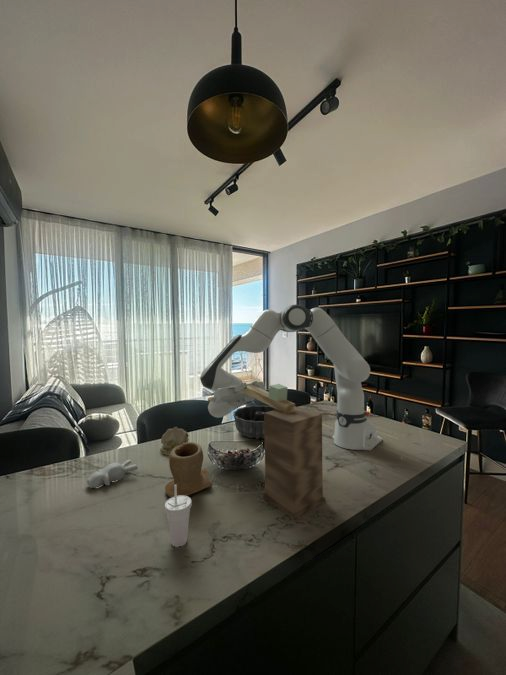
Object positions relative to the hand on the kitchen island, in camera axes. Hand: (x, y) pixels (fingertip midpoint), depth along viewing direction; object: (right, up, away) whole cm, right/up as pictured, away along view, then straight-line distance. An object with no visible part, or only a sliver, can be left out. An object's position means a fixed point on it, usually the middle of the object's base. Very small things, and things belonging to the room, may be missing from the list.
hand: (250, 384), depth 103 cm
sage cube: (+8, -3, -11) cm, 14 cm away
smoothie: (-17, -34, -32) cm, 49 cm away
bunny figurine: (-48, -33, -2) cm, 58 cm away
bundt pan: (+4, -31, +41) cm, 51 cm away
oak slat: (+5, -5, -7) cm, 10 cm away
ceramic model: (-32, -32, +22) cm, 50 cm away
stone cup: (-19, -33, -9) cm, 39 cm away
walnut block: (+13, -32, -15) cm, 38 cm away
